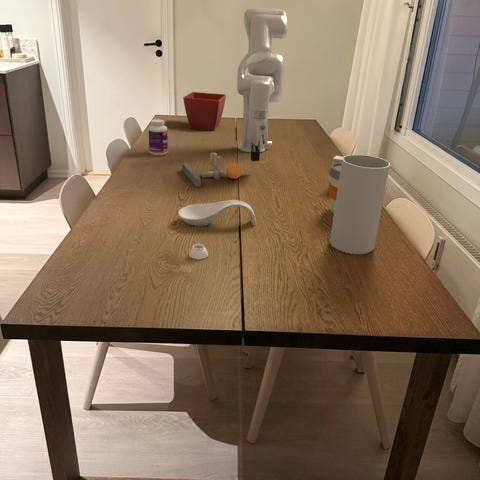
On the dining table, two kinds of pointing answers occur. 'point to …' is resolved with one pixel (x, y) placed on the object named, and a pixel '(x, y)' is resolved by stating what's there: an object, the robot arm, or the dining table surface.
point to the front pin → (210, 174)
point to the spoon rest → (211, 212)
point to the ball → (234, 171)
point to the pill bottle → (158, 138)
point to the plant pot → (204, 110)
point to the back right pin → (212, 161)
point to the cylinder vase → (359, 203)
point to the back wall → (191, 175)
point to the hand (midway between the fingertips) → (254, 160)
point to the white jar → (198, 252)
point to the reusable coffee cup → (334, 184)
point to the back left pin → (217, 167)
